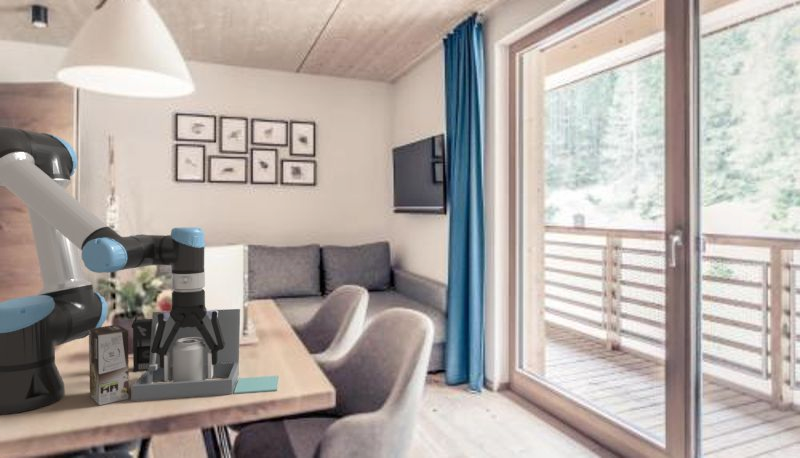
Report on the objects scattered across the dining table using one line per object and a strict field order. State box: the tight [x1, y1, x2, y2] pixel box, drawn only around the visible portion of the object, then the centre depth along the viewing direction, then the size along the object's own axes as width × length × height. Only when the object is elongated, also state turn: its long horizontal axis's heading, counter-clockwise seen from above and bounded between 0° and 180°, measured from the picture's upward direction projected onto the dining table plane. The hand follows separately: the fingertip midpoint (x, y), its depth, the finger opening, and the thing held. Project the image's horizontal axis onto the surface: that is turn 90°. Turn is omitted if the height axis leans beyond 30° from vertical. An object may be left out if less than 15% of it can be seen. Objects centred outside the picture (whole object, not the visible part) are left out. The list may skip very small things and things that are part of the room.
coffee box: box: [88, 324, 130, 406], centre depth 112 cm, size 9×6×16 cm
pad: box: [233, 375, 279, 395], centre depth 120 cm, size 10×10×1 cm
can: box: [172, 337, 207, 382], centre depth 118 cm, size 8×8×12 cm
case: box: [131, 308, 241, 402], centre depth 120 cm, size 22×18×17 cm
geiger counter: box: [131, 314, 159, 373], centre depth 133 cm, size 10×4×15 cm, turn 110°
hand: (189, 378), depth 118 cm, fingers open, 9 cm apart
